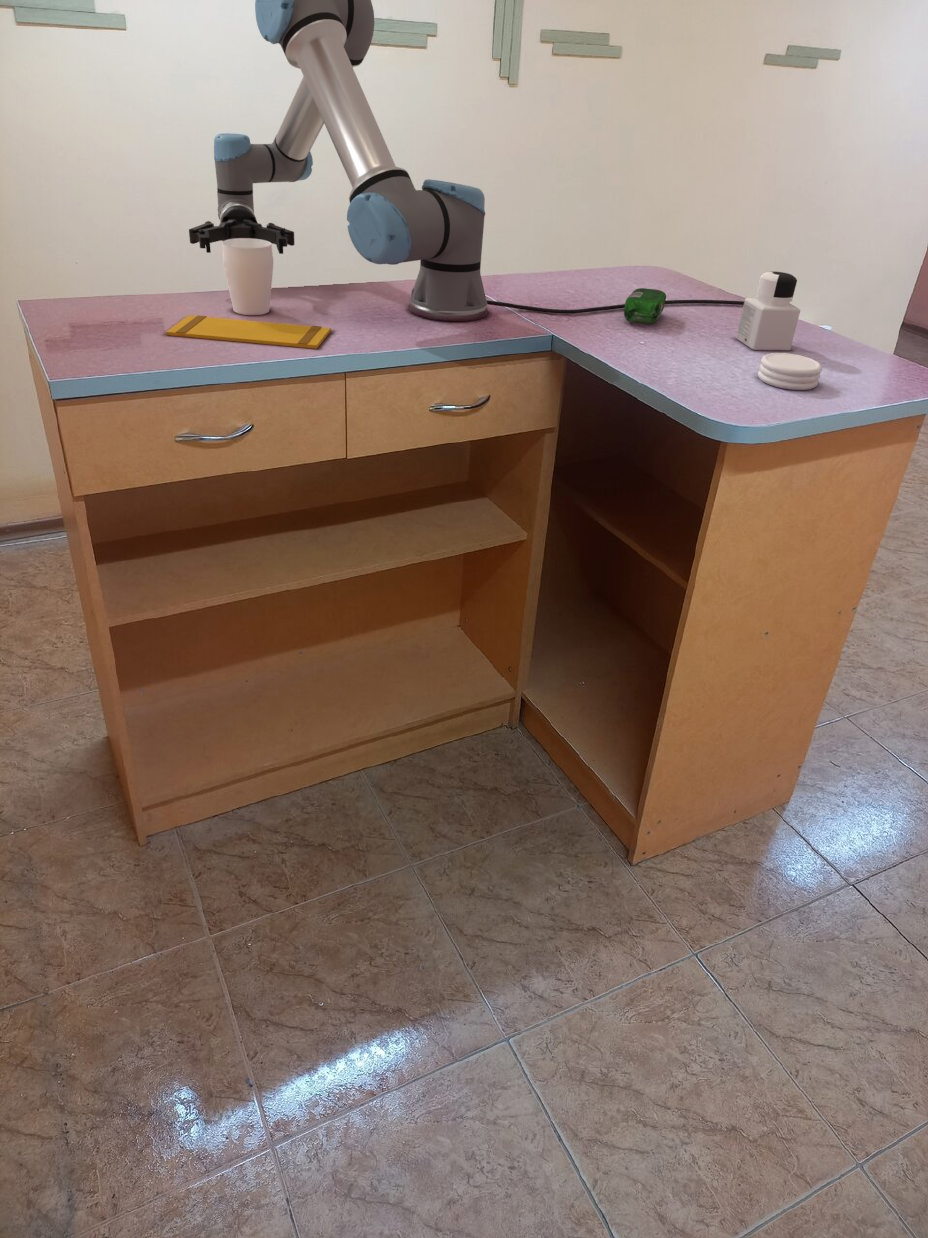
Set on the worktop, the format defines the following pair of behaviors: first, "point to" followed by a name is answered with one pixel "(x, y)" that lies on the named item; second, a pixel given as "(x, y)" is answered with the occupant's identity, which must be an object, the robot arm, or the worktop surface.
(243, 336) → the towel
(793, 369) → the coaster
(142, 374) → the worktop surface
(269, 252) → the cup
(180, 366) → the worktop surface
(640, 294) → the snack package
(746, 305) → the container
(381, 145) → the robot arm
